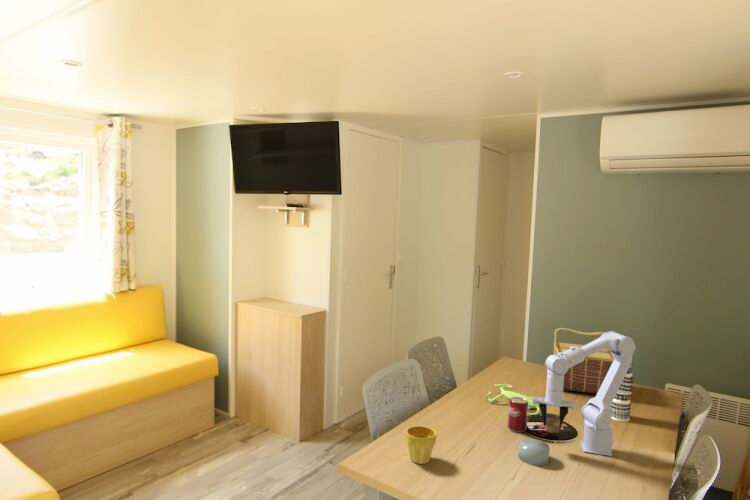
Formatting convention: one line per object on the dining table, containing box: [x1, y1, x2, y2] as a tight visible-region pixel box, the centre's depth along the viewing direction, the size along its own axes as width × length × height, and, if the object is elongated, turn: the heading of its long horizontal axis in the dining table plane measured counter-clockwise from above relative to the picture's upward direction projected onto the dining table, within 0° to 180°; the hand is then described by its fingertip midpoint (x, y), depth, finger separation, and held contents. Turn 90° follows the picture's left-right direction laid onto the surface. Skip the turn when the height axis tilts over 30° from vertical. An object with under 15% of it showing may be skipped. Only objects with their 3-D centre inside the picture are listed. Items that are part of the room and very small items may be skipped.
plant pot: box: [405, 425, 437, 465], centre depth 164 cm, size 10×10×10 cm
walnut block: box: [544, 412, 560, 434], centre depth 173 cm, size 4×4×5 cm
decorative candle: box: [611, 362, 634, 422], centre depth 206 cm, size 9×9×25 cm
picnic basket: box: [553, 327, 614, 395], centre depth 242 cm, size 29×26×30 cm
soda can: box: [507, 397, 529, 434], centre depth 191 cm, size 7×7×12 cm
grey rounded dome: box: [518, 438, 550, 467], centre depth 168 cm, size 10×10×5 cm
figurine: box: [484, 383, 541, 416], centre depth 219 cm, size 18×27×6 cm
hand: (552, 425), depth 173 cm, fingers closed on walnut block, 4 cm apart
